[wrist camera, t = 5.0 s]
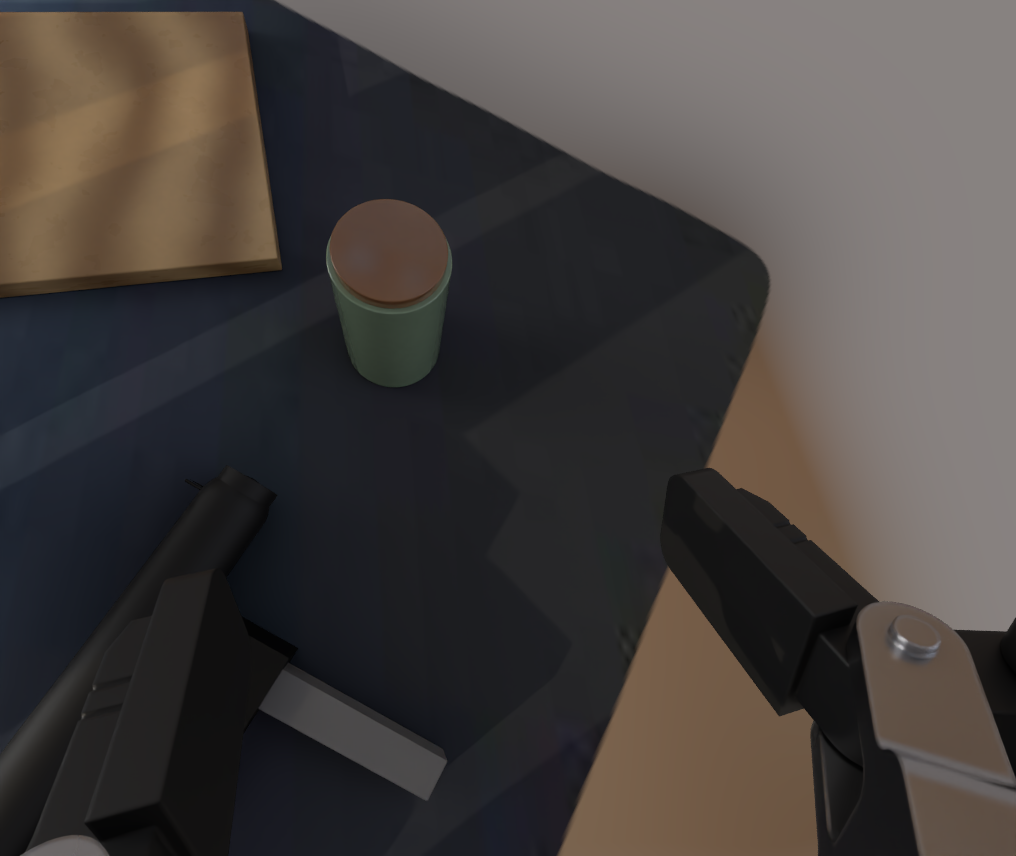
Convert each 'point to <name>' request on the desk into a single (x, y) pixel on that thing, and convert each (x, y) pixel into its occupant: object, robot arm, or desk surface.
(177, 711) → the robot arm
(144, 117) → the oak board
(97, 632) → the door handle
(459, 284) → the desk surface
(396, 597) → the desk surface
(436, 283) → the salt pot
